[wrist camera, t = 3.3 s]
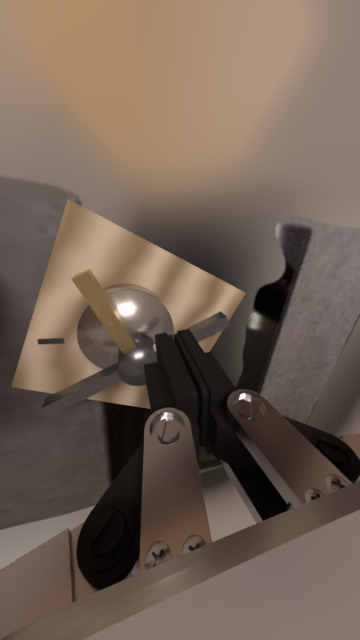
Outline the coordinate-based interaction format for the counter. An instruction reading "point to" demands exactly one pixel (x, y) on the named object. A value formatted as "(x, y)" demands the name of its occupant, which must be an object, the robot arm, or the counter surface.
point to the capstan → (120, 336)
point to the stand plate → (109, 269)
